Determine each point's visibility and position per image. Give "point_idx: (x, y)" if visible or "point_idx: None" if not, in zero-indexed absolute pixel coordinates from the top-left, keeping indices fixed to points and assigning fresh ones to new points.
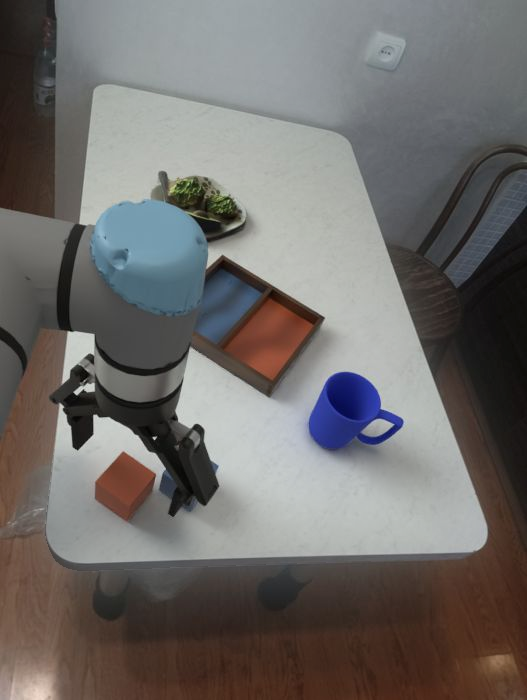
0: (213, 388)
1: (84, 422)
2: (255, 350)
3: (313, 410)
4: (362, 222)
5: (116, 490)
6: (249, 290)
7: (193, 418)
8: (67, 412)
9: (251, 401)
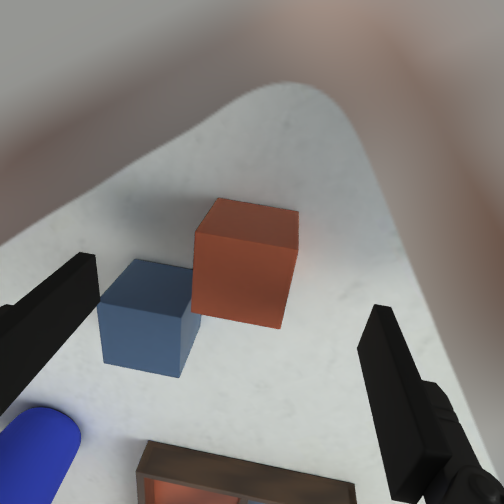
0: (224, 430)
1: (393, 422)
2: (201, 490)
3: (59, 464)
4: None
5: (242, 252)
6: None
7: (224, 386)
8: (484, 499)
9: (165, 429)
